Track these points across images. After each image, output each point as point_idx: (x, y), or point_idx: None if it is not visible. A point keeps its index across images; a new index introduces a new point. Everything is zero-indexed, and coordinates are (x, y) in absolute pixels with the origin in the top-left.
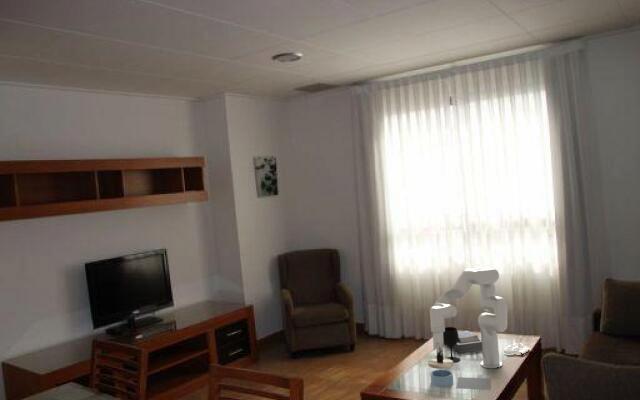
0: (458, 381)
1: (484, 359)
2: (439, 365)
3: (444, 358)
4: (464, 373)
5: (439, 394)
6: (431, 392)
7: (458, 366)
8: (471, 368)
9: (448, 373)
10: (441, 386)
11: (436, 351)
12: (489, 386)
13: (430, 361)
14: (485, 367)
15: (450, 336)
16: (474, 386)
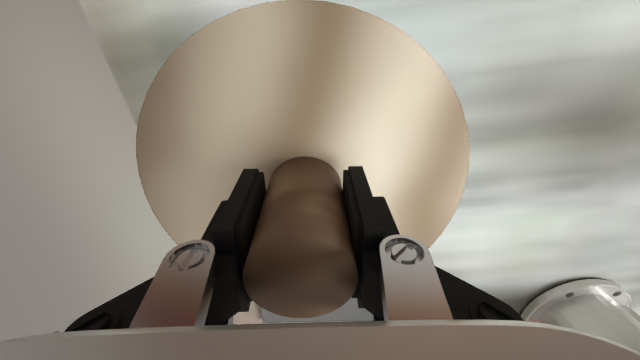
0: None
1: (586, 326)
2: (179, 194)
3: (442, 216)
4: (480, 219)
5: (133, 118)
6: (142, 59)
7: (609, 180)
8: (549, 244)
9: None
10: None
11: (131, 321)
12: (295, 319)
13: (312, 48)
14: (538, 297)
15: None
16: None
